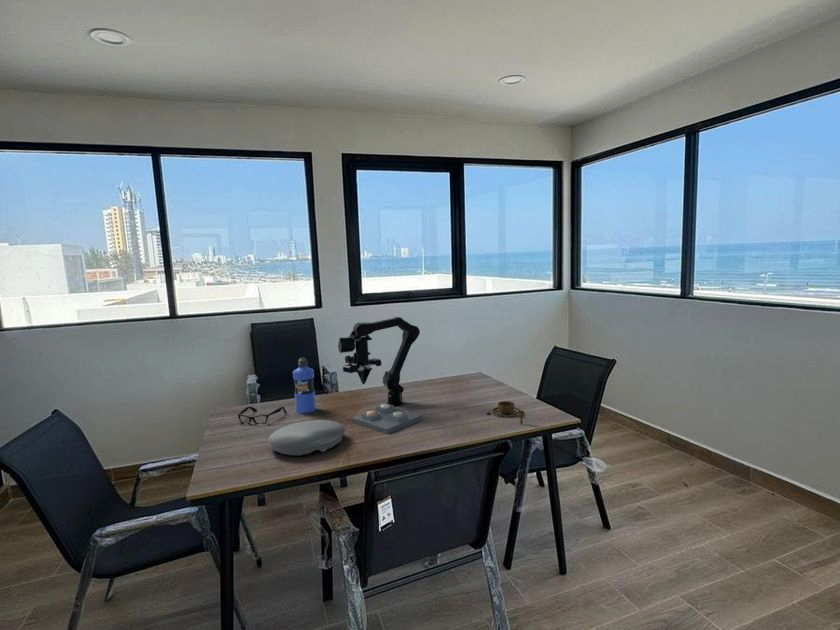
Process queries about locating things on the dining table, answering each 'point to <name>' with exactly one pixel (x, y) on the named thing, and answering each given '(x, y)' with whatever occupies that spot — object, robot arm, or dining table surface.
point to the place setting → (508, 410)
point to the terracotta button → (370, 413)
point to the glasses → (259, 415)
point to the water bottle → (304, 388)
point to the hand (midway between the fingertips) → (363, 383)
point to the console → (386, 419)
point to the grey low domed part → (306, 437)
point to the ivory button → (385, 406)
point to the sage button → (397, 414)
